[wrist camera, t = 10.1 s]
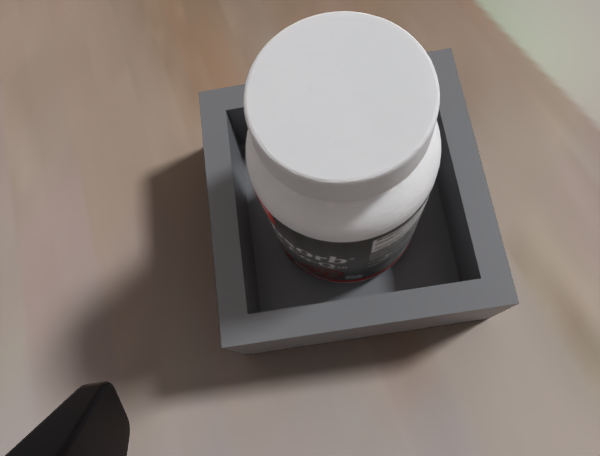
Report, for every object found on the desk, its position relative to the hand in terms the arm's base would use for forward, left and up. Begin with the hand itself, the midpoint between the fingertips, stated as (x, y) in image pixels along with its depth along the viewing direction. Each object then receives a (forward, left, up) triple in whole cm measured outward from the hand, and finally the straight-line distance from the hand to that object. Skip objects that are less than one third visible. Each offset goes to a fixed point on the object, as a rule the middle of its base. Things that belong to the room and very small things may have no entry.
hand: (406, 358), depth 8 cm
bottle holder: (+7, 0, -14) cm, 15 cm away
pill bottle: (+6, 0, -13) cm, 14 cm away
